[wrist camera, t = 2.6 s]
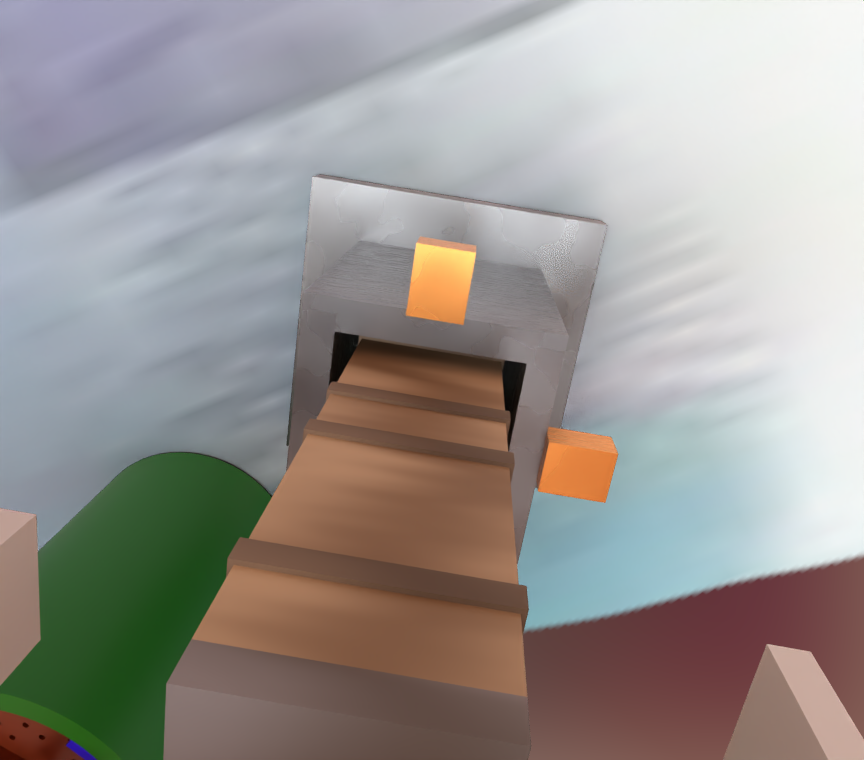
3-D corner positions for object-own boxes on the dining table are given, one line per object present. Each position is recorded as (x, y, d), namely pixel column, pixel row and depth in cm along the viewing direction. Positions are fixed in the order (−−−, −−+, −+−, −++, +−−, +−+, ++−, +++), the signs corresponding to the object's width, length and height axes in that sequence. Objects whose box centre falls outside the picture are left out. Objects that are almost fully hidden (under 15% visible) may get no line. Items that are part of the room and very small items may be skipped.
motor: (71, 522, 37) (-347, 926, 19) (179, 411, 35) (-177, 745, 16) (221, 645, 39) (-19, 1124, 20) (334, 548, 37) (178, 990, 18)
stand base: (294, 432, 35) (201, 583, 23) (319, 174, 31) (223, 203, 19) (543, 474, 35) (573, 647, 23) (601, 220, 31) (672, 277, 19)
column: (375, 387, 32) (149, 937, 10) (389, 283, 30) (158, 674, 9) (479, 404, 32) (474, 994, 10) (499, 302, 30) (540, 741, 9)
